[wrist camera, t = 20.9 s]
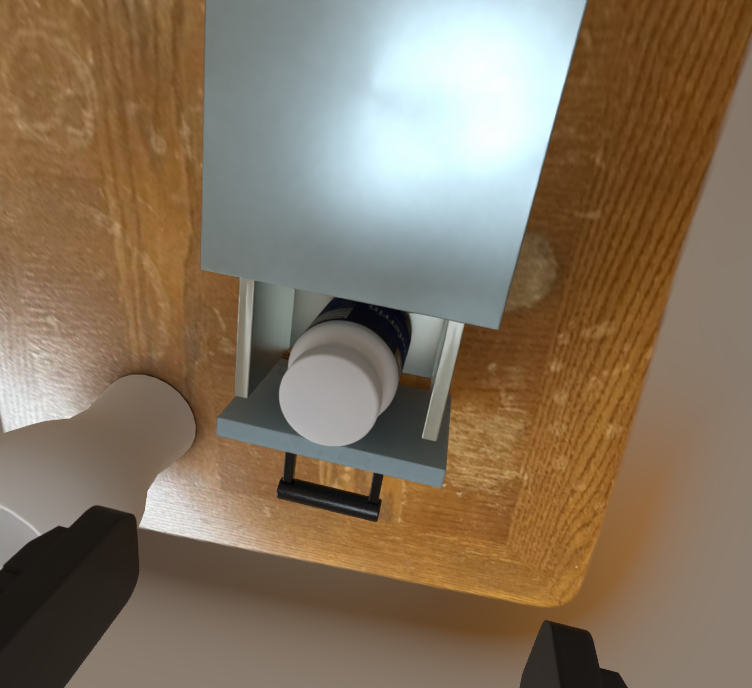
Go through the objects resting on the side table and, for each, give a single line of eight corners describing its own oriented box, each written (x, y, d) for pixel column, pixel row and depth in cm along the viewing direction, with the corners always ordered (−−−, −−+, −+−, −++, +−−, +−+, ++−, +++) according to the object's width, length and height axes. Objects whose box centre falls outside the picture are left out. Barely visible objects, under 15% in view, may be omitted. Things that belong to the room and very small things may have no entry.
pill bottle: (428, 348, 32) (412, 434, 23) (350, 381, 34) (306, 473, 25) (385, 267, 31) (350, 324, 22) (306, 306, 32) (242, 374, 23)
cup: (115, 329, 38) (-85, 442, 24) (236, 409, 39) (109, 561, 25) (70, 425, 42) (-121, 567, 29) (181, 496, 43) (46, 665, 30)
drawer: (431, 477, 37) (421, 567, 30) (264, 438, 38) (213, 515, 31) (506, 170, 29) (519, 185, 21) (288, 132, 30) (225, 133, 22)
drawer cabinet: (490, 271, 32) (498, 331, 22) (276, 230, 33) (200, 270, 24) (574, -60, 25) (636, -174, 16) (301, -96, 26) (207, -221, 17)
